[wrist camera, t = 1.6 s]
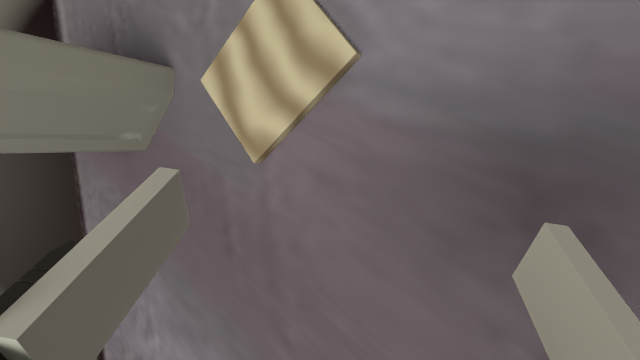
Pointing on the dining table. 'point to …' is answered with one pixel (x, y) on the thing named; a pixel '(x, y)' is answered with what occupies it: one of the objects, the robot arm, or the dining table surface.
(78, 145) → the grey tall prism
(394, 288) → the dining table surface
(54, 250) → the robot arm
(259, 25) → the birch board
